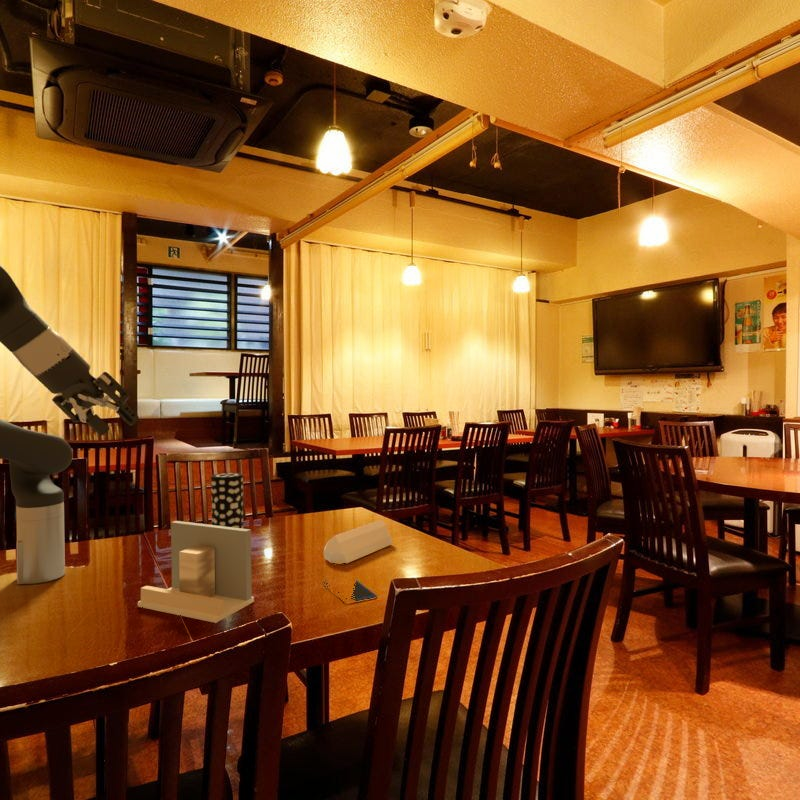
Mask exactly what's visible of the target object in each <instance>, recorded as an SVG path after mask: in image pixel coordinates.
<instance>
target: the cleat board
mask: <svg viewBox="0 0 800 800" xmlns="http://www.w3.org/2000/svg"><path fill="white" fill-rule="evenodd" d="M170 537H171V538H170V541H171V545H170V546H171V551H170V552H171V557H170V558H171V587H169V588H161V587H156V586H153V585H152V586H150V585H144V586H142V587H140V599H139V601H137V607H138V608H142V607H143V608H142V609H148V610H151V611H152V610H153V611H158V612H163V613H167V614H172V615H177V616H180V615H181V616H180V617H186V618H191V619H196V620H200V621H204V622H209V623H214V624H217V623H218V622H221V621H222V620H224V619H225V618H228V617H229V616H232V615H233V614H235V613H236V612H238V611H240V610H241V609H243V608H246V607H247V606H249V605H251V604H252V603H254V602H255V597H254V596H252V595H253V594H252V529H249V528H243V529H242V528H233V527H225V526H217V525H212V524H207V523H199V522H198V523H197V522H191V521H182V520H174V521H171V522H170ZM197 545H200V546H207V547H214V552H215V596H214V597H212V598H211V597H206V596H200V595H195V594H190V593H184V592H180V578H179V552H180V551H183V550H185V549H188V548H191V547H194V546H197Z"/></svg>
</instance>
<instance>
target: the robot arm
mask: <svg viewBox="0 0 800 800" xmlns="http://www.w3.org/2000/svg"><path fill="white" fill-rule="evenodd" d="M0 343H1V344H2V345H3V346H4V347H5V348H6V349H7V350H8V351H9V352H10V353H11V354H13V356H14V357H15V358H16V359H17V361H18V362H19V363H20V364H21V366H23V368H25V369H26V370H27V371H28V372H29V373H30V374H31V375H32V376H33V377H34V378H35V379H36V380H37V381H38V382H39V383H41V384H42V385H43V386H44V387H45V388H46V389H47V390H48V391H49V392H50V393H51V394H54V395H55V396H54V397H53V398H52V399H51V401H52V402H53V403H54V404H55V405H56V406H57V407H58V408H59V409H60V410H61V411H62V412H63V413H64V414H65V415H66V416H67V417H68V418H69V419H70V420H71V421H72V422H73V423H75V424H76V423H78V422H82V423H84V424H85V423H86V424H87V425H88V426H89V427H90V428H91V429H92V430H94V432H96V434H98V435H99V436H105V435H106V434H107V433H108V431H110V426H109V425H108V424H107V423H106V422H105V421H104V420H103V419H102V418H101V417H100V416H99V415H98V414H95V411H94V407H95V406H99V407H101V408H106V407H107V408H109V409H112V410H114V411H115V413H116V414H117V415H118V416H119V417H120V418H121V419H123V421H124V422H125V423H126V424H127V425H128V426H133V425H135V424H136V423H137V422H138V421H139V419H140V418H139V415H138V413H136V411H135V410H133V409H132V407H131V406H129V405H128V403H127V401H128V400H129V398H131V393H130V392H128V391H127V390H126V388H124V387H123V386H122V385H121V384H119V382H118V381H117V380H115V379H114V377H113V376H112V375H111V374H110V373H108V371H107V372H106V371H103V372H102V373H101V374H100V375H99V376H98V377H95V376H93V375H92V373H90V369H91V365H90V363H88V362H87V361H86V360H85V359H84V358H83V357H82V356H81V355H80V353H79V352H77V351H76V350H75V349H74V347H72V346H71V345H70V344H69V343H68V341H66V340H65V338H64V337H62V335H60V334H59V333H58V332H57V331H55V330H54V329H53V328H51V327H50V326H49V325H48V324H47V322H46V321H45V320H44V319H43V318H42V317H40V315H38V313H37V312H36V311H34V309H33V308H32V307H30V305H29V304H28V301H26V299H25V296H24V295H23V293H22V292H21V291H20V288H19V287H18V286H17V284H16V283H15V281H14V279H13V278H12V277H11V276H10V274H9V272H7V269H5V268H4V267H3V265H1V264H0ZM116 391H117V392H118V393H119V394H120V395H119V394H117V393H116ZM105 394H106V395H105ZM72 410H74V412H73V411H72ZM73 458H74V454H73V450H72V447H71V445H70V444H69V443H68V441H67V440H65V439H64V438H63V437H61V436H58V435H55V434H50V433H44V432H39V431H37V430H31V429H29V428H24V427H22V426H18V425H15V424H13V423H11V422H9V421H7V420H4V419H1V418H0V460H7V461H9V473H10V474H9V475H10V476H9V477H10V486H11V492H12V496H14V499H15V504H16V505H15V506H16V507H15V508H16V511H15V512H16V584H17V585H24V584H25V585H26V584H27V585H30V584H31V585H32V584H41V583H46V582H47V583H48V582H51V581H53V580H57V579H59V578H63V576H64V575H65V573H66V559H65V558H66V557H65V556H66V553H65V552H66V550H65V549H66V548H65V545H66V544H65V503H64V501H65V497H64V496H65V494H64V490H63V489H62V488H61V487H59V486H58V485H55V484H54V483H53V481H52V479H51V478H50V476H51V475H55V474H59V473H62V472H64V471H65V470H66V469H67V468H68V467H69V466H70V465H71V463H72V461H73Z"/></svg>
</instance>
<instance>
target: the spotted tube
mask: <svg viewBox="0 0 800 800" xmlns="http://www.w3.org/2000/svg"><path fill="white" fill-rule="evenodd" d="M210 478H211V479H210V480H211V484H210V485H211V488H210V489H211V490H210V491H211V525H217V526H225V527H233V528H242V529H244V482H243V481H244V477H243V473H240V472H223V473H217V474H212V475H211V477H210Z"/></svg>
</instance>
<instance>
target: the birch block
mask: <svg viewBox="0 0 800 800" xmlns="http://www.w3.org/2000/svg"><path fill="white" fill-rule="evenodd" d="M179 578H180V592H184V593H190V594H195V595H200V596H206V597H211V598H212V597H214V596H215V552H214V547H207V546H200V545H197V546H194V547H191V548H188V549H185V550H183V551H180V552H179Z"/></svg>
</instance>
